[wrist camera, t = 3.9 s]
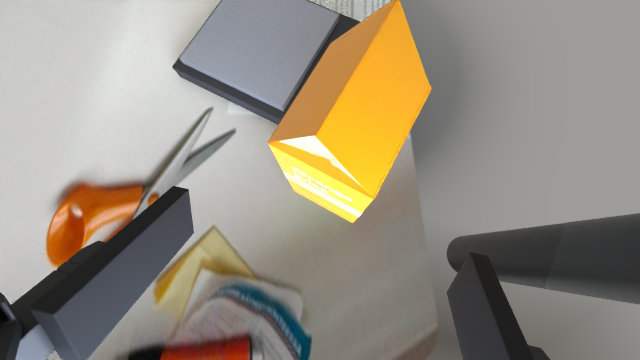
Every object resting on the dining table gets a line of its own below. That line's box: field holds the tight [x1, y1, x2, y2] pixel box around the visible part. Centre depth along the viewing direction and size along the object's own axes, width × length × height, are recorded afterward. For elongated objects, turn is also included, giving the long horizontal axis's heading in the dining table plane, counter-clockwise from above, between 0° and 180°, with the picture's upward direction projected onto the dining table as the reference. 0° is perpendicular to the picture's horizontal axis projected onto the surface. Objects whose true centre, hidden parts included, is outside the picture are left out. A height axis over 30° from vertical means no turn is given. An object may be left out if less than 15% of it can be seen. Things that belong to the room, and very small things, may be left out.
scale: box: [172, 0, 360, 125], centre depth 36 cm, size 18×16×3 cm
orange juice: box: [267, 0, 431, 223], centre depth 23 cm, size 8×9×20 cm
